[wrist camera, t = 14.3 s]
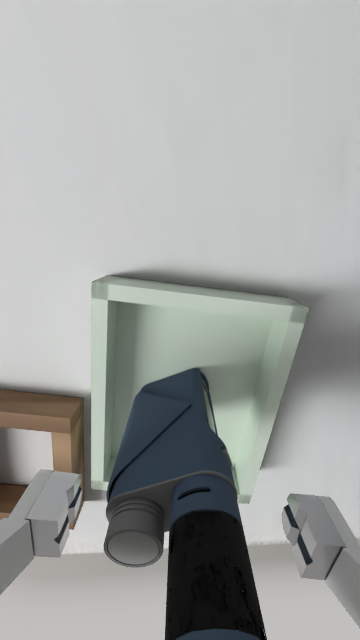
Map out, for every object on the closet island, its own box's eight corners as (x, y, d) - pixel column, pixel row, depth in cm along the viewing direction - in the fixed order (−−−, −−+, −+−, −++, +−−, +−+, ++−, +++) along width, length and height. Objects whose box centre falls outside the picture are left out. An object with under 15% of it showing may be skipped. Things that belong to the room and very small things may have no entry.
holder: (-37, 385, 16) (-66, 404, 14) (82, 398, 16) (69, 418, 14) (-16, 492, 19) (-37, 519, 17) (83, 501, 19) (73, 529, 18)
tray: (107, 275, 14) (91, 281, 11) (287, 297, 14) (309, 308, 12) (103, 456, 18) (90, 489, 16) (240, 470, 18) (249, 503, 16)
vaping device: (218, 393, 15) (323, 824, 4) (146, 417, 16) (57, 848, 5) (205, 361, 15) (288, 778, 3) (129, 387, 15) (-24, 812, 4)
